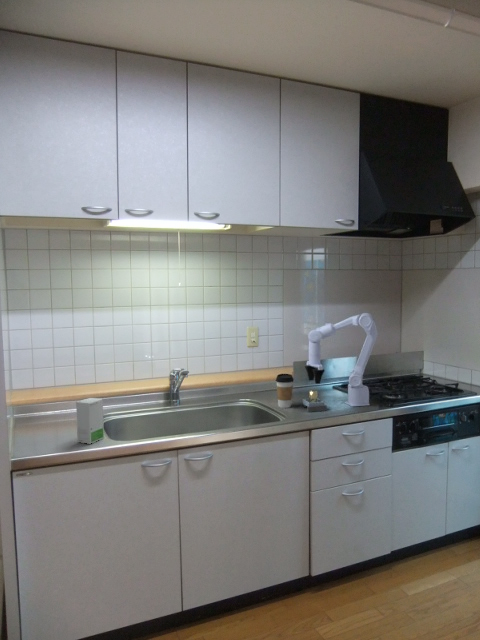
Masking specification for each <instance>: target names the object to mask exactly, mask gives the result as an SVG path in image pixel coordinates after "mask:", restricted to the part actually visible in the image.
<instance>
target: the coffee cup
mask: <svg viewBox="0 0 480 640" xmlns="http://www.w3.org/2000/svg"><path fill="white" fill-rule="evenodd" d="M293 377H294V376H293V375H292V374H290V373H280V374H277V375H276V379H275V382H276V395H277V405H278V408H282V409H287V408H291V406H292V396H293V387H294V386H293V383H294V378H293Z"/></svg>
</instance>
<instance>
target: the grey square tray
mask: <svg viewBox="0 0 480 640" xmlns="http://www.w3.org/2000/svg"><path fill="white" fill-rule="evenodd" d="M302 404H303V406H304V408H307V406H317V405H325V401H323V400H321V399H320V398H319V397H317V402H313V403H309V398H302Z"/></svg>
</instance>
